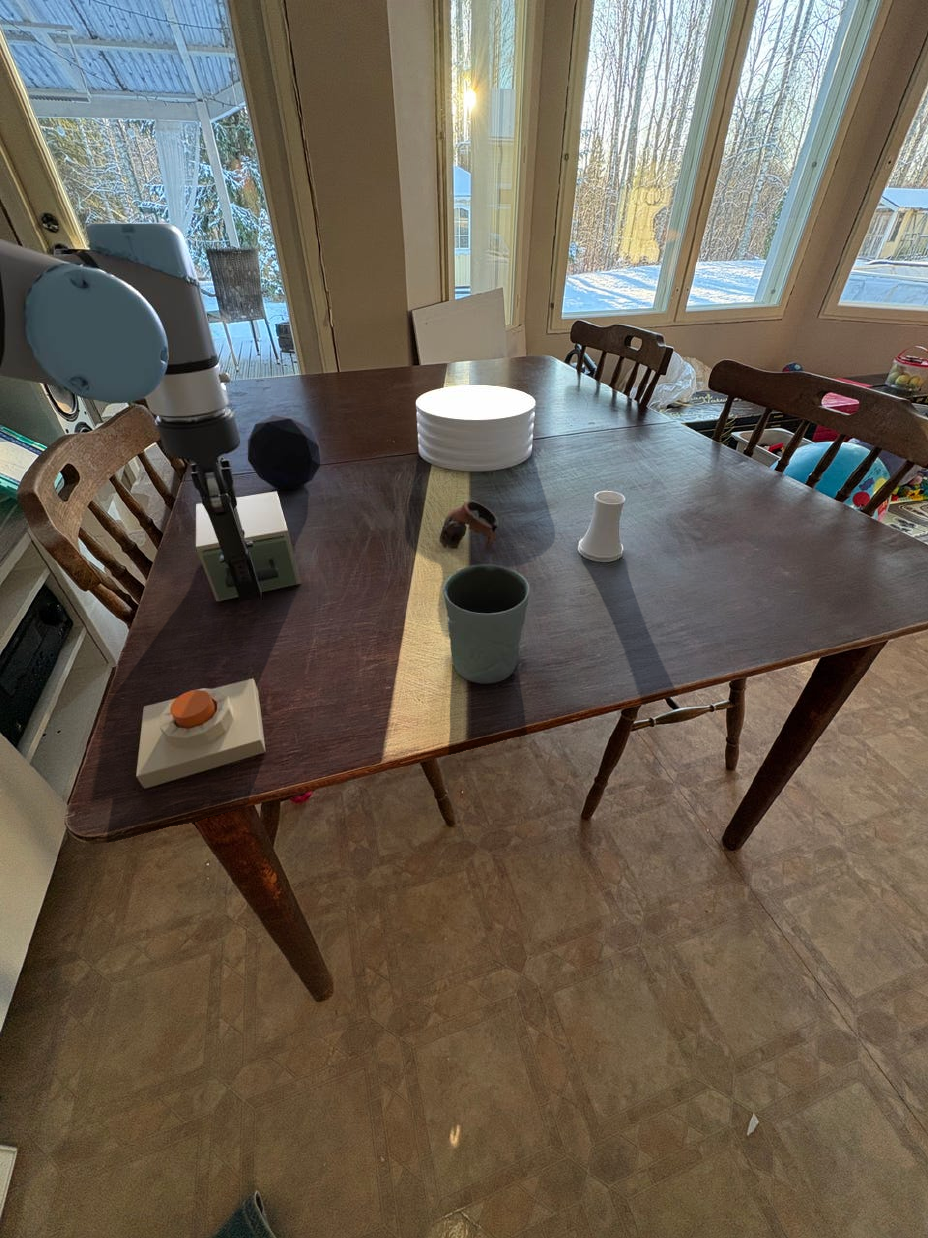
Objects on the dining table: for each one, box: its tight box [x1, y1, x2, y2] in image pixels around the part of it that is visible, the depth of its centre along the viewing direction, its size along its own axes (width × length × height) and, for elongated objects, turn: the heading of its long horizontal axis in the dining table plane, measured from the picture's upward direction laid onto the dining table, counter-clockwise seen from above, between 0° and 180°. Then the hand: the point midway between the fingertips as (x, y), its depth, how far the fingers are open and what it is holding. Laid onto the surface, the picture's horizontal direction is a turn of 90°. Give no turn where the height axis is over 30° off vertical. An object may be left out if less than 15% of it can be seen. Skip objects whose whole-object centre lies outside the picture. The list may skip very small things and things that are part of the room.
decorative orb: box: [247, 414, 322, 490], centre depth 107 cm, size 14×15×15 cm
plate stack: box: [415, 384, 536, 472], centre depth 123 cm, size 28×28×12 cm
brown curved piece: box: [439, 500, 500, 550], centre depth 89 cm, size 12×10×8 cm
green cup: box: [442, 563, 531, 685], centre depth 63 cm, size 10×10×12 cm
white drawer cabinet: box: [195, 490, 302, 602], centre depth 82 cm, size 15×13×10 cm
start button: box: [170, 689, 216, 729], centre depth 55 cm, size 4×4×2 cm
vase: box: [577, 490, 626, 563], centre depth 86 cm, size 8×8×10 cm
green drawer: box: [202, 536, 298, 601], centre depth 79 cm, size 18×11×8 cm, turn 22°
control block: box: [135, 677, 266, 790], centre depth 57 cm, size 12×10×4 cm
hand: (250, 597), depth 67 cm, fingers closed
